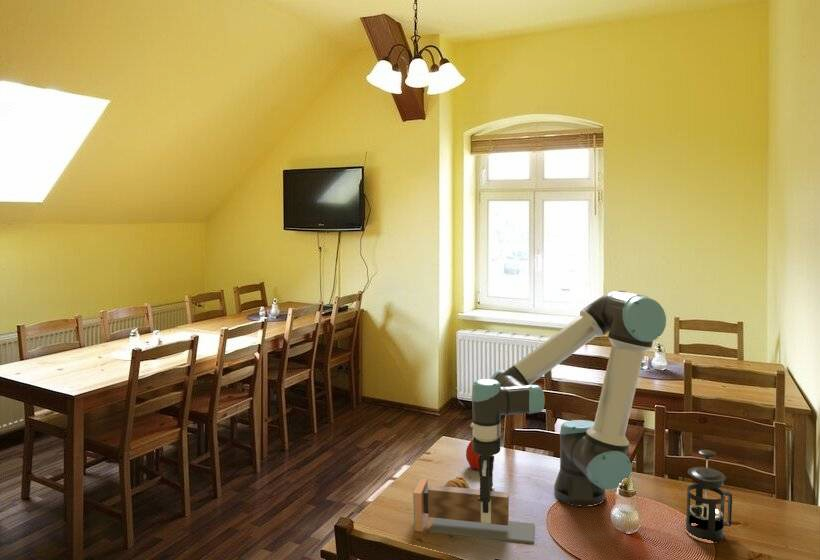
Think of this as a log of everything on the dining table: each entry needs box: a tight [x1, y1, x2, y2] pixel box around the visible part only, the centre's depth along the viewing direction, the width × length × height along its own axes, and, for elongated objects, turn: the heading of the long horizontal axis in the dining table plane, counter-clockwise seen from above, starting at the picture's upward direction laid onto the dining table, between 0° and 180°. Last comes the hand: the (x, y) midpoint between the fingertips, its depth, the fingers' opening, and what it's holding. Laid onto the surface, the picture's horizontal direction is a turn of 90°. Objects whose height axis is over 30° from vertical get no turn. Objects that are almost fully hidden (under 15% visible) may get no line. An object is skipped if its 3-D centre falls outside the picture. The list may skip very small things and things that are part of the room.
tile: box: [412, 478, 429, 532], centre depth 165 cm, size 2×9×11 cm, turn 167°
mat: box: [429, 518, 536, 544], centre depth 161 cm, size 28×9×1 cm, turn 76°
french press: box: [685, 449, 733, 543], centre depth 155 cm, size 12×9×23 cm
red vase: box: [465, 440, 480, 471], centre depth 200 cm, size 8×8×11 cm
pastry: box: [443, 476, 471, 489], centre depth 183 cm, size 9×7×4 cm
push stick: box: [424, 484, 510, 526], centre depth 162 cm, size 23×3×8 cm, turn 77°
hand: (486, 518), depth 161 cm, fingers closed on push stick, 3 cm apart
